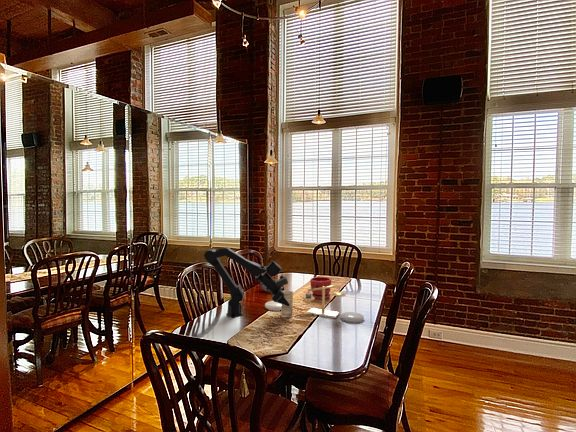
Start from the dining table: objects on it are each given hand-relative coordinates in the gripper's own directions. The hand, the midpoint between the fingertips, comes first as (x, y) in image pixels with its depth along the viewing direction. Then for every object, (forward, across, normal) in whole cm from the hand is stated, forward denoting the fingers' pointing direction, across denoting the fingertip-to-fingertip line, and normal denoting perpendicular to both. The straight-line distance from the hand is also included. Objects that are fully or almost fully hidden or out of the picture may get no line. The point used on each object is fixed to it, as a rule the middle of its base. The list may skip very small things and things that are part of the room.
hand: (289, 302), depth 188 cm
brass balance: (+18, +3, -8) cm, 20 cm away
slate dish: (+29, -4, -18) cm, 34 cm away
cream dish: (0, +14, +10) cm, 17 cm away
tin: (-3, +46, +13) cm, 48 cm away
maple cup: (+4, 0, +6) cm, 7 cm away
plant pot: (+19, +34, -9) cm, 40 cm away
